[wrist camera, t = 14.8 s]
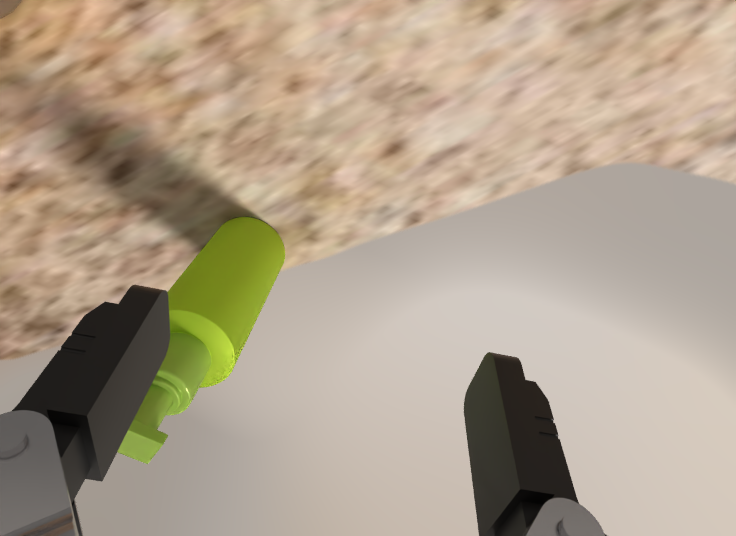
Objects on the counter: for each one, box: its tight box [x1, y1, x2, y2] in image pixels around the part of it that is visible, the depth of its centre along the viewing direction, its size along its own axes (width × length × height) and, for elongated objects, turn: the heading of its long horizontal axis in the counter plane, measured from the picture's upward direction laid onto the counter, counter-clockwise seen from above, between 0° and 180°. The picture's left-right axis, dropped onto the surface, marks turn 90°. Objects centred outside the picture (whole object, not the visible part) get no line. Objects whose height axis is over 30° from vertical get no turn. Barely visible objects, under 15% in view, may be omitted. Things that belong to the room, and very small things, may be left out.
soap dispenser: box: [117, 217, 285, 464], centre depth 32 cm, size 6×7×20 cm
